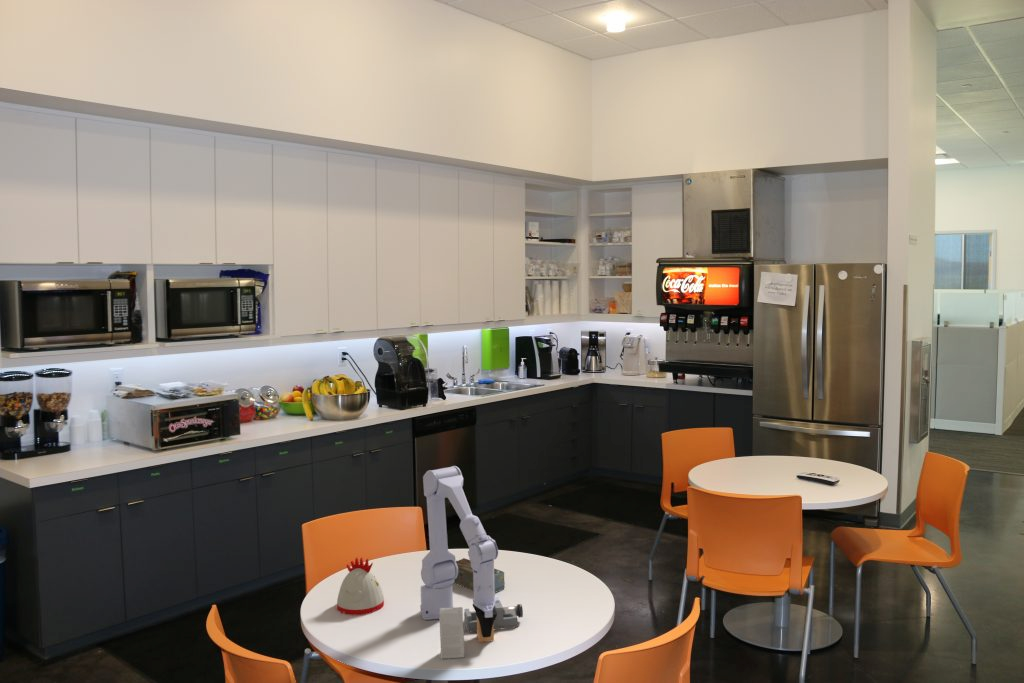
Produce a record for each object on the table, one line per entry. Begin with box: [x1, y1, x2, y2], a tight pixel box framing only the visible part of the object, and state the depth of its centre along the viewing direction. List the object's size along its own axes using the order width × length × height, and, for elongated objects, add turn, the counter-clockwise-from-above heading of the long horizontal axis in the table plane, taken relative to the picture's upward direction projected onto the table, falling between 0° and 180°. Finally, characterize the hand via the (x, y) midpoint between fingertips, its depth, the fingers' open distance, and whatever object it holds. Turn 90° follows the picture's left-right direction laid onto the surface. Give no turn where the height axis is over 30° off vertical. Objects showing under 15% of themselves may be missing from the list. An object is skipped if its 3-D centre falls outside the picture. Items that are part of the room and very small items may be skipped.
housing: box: [463, 599, 519, 633], centre depth 239 cm, size 14×8×6 cm, turn 101°
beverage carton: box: [453, 557, 506, 593], centre depth 270 cm, size 8×19×7 cm, turn 46°
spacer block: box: [476, 615, 495, 643], centre depth 230 cm, size 4×4×6 cm
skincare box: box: [439, 606, 465, 660], centre depth 220 cm, size 6×4×12 cm
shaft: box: [503, 603, 524, 618], centre depth 240 cm, size 7×4×4 cm, turn 101°
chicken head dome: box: [336, 557, 385, 616], centre depth 254 cm, size 14×14×15 cm
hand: (485, 633), depth 230 cm, fingers closed on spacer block, 4 cm apart
